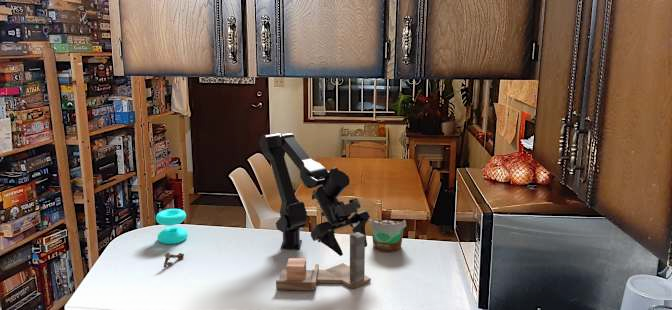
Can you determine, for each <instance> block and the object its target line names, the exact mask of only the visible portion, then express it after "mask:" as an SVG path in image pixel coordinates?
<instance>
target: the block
mask: <svg viewBox="0 0 672 310" xmlns="http://www.w3.org/2000/svg"><path fill="white" fill-rule="evenodd" d="M286 263H287V264H286V266H285V267H286V270H287V280H305V278H306V270H307V258H300V257H299V258H294V257H293V258H291V257H290V258H289V257H288V260H287V262H286Z"/></svg>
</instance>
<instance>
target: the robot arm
mask: <svg viewBox="0 0 672 310" xmlns="http://www.w3.org/2000/svg"><path fill="white" fill-rule="evenodd" d="M258 145H259V148H260V150H261V153H262V154H263V157H265V158H266V159H267V160H268V161H269V162H270V165H271V170H272V172H273V173H272V174H273V175H274V180H275V183H276V186H277V190H278V192H279V193H278V194H279V196H280V201H281V205H280V209H279V215H280V217H279V218H278V219H277V221H276V223H275V226H276V230H277V231H280V232H281V233H282V241H281V242H282V243H281V245H280V249H282V250H289V249H290V250H300V249H301V247H302V246H301V245H302V243H303V239H301V238H300V237H301V236H300V231H301V230H300V229H302V228H305V227H306V226H307V225H306V224H307V220H308V212H307V211H308V210H306V206H305V203H304V201H299V199H298V198H297V196H296V194H295V192H296V191H295V189H294V186H293V182H292V180H291V176H290V172H289V169H288V166H287V162H286V158H285V157H286V155H287V156H288V157H289V159H290V160H291V161H292V162H293V164H294V165H295V166H296V168H297V169H298V170H299V178H300V179H301V180H302V181H301V182H302V183H303V184H304V186H305V187H306V188H307V189H313V190H312V194H311V200H312V201H313V200H316V201H317V203H318V205H319V206H320V207H319V208H321V211H322V212H321V217H325V218H326V221H324V222H320V223H318V224H316V225H315V226H314V228H313V229H312V230H311V232H310V237H311V239H312V241H313V242H315V241H317V242H318V243H322V244H323V245H325V246H327V247H328V248H329V249H331V250H332V251H333V252H335V253H336V254H337V255H339V257H342V256H343V255H344V253H343V250H342V248H341V247H340V244H339V242H338V241H337V238H336V236H335V231H336V230H339V229H343V228H346V227H348V226H350V228H352V229H351V230H352V232H353V234H354V233H357V232H359V233H361V234H363V235H365V248H366V247H368V240H367V235H366V223H369V222H368V221H369V220H370V219H371V215H370V214H369V212H368V211H367V210H365V209H364V210H360V211H359V210H358V209H361V202H360V201H359V200H358V199H359V198H357V197H355V198H351V199H349V200H348V203H345V202H344V201H342V200H341V201H340V200H339V198H338V197H339V196H340V195H341V194H342V193H343V192H344V190H345V189H346V188H347V187H348V186H349V184H350V182H351V181H350V177H349V175H348V174H346V172H344V171H342V170H340V169H338V167H333V168H330V170H328V169H327V168H326V167H325V166H323V165H322V164H321V163H320V162H318V161H316V160H313V159H312V158H311V157H310V155H309V154H308V153H307V152H306V151H305V150H304V149H303V147H302V146H301V144H300V143H299V142H298V141H297V140H296V138H295V135H294V133H290V132H286V133H281V132H277V133H269V134H263V135H262V136H261V137H260V139H259V142H258ZM314 188H317V189H314ZM352 214H353V215H352Z"/></svg>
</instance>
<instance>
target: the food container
mask: <svg viewBox="0 0 672 310" xmlns="http://www.w3.org/2000/svg"><path fill="white" fill-rule="evenodd" d="M368 224H369V226H370V227H371V237H372V245H373V248H374V250H376V251H378V252H382V253H394V252H397V251H399V250H400V249H401V248H402V244H403V237H404V229H405V228H406V227H407V221H406V219H404V220H402V221H395V220H392V219H381V220H379V219H372V218H369V222H368Z"/></svg>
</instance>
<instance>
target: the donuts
mask: <svg viewBox="0 0 672 310" xmlns="http://www.w3.org/2000/svg"><path fill="white" fill-rule="evenodd" d="M186 218H187V213H186V212H185V210H183V209H180V208H168V209H164V210H161V211H159V212H158V213H157V214H156V215H155V221H156V222H157V223H158V224H160V225H161V226H166V227H165V228H163V229H162V230H160V231H159V233H158V234H157V239H158V241H159V242H160V243H161V244H165V245H174V244H175V245H176V244H179V243H181V242H183V241H185V240H186V239H187V238H188V237H189V236H188V235H189V233H188V231H187V229H185V228H183V227H180V226H177V225H179V224H181V223H183V222H184V221H185V219H186ZM167 226H169V227H167Z"/></svg>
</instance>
